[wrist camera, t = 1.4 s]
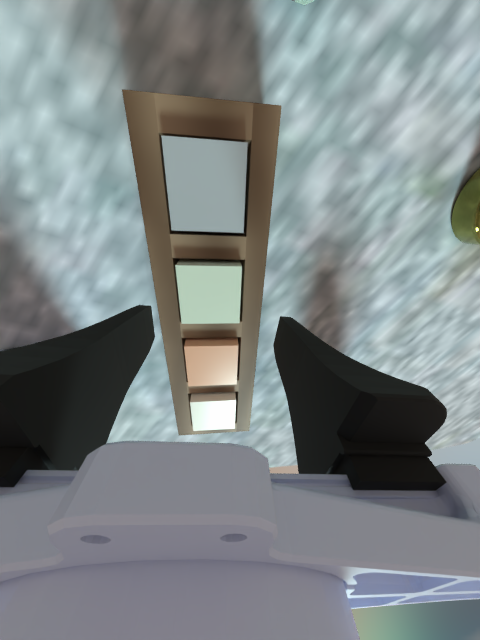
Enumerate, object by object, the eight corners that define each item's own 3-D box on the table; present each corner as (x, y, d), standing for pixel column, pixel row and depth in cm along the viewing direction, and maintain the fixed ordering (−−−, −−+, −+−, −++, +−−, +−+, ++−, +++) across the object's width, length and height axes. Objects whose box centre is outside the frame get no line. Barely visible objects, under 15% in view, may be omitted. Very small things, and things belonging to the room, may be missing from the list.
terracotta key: (191, 371, 20) (188, 386, 18) (187, 333, 18) (184, 346, 16) (235, 369, 21) (236, 384, 19) (236, 332, 19) (238, 345, 17)
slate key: (177, 227, 14) (171, 230, 12) (169, 146, 12) (161, 135, 10) (240, 230, 15) (243, 233, 13) (243, 152, 12) (247, 142, 11)
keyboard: (184, 402, 27) (178, 435, 23) (149, 123, 14) (121, 89, 10) (244, 400, 28) (249, 430, 24) (264, 133, 15) (281, 105, 11)
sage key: (185, 312, 17) (181, 323, 15) (180, 258, 15) (175, 265, 13) (237, 312, 18) (239, 323, 16) (239, 260, 16) (242, 266, 14)
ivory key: (195, 414, 23) (193, 431, 21) (192, 386, 21) (190, 402, 19) (233, 412, 24) (234, 428, 22) (234, 384, 22) (236, 400, 20)
